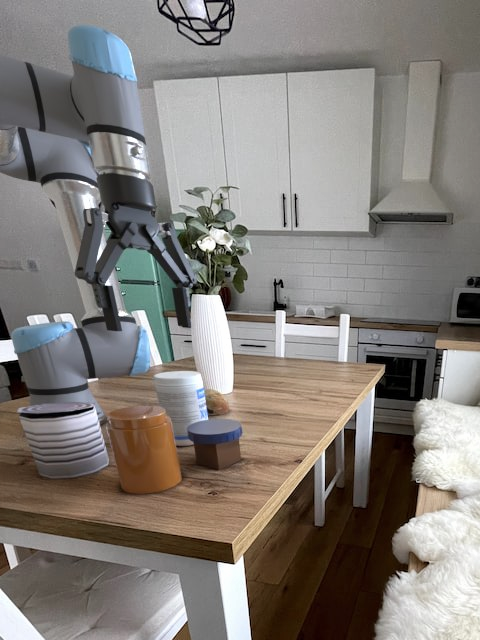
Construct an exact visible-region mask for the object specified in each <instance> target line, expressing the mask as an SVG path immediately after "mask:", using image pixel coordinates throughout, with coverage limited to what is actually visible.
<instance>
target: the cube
mask: <svg viewBox="0 0 480 640" xmlns="http://www.w3.org/2000/svg"><path fill="white" fill-rule="evenodd" d="M193 443H194V445H193V450H194V456H195V461H196V462H195V463H196V464H197V465H200V466H204V467H207V468H210V469H215V470H217V471H220V470H222V469H224V468H227V467H229V466H231V465H233V464H235V463H237V462H240V461H241V460H242V454H241V444H240V438H238V439H236V440H234V441H230V442H226V443H220V444H199V443H195V442H193Z"/></svg>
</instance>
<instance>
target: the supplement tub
mask: <svg viewBox="0 0 480 640" xmlns="http://www.w3.org/2000/svg"><path fill="white" fill-rule="evenodd" d="M153 380H154V381H153V383H154V389H155V394H156V397H157V398H156V399H157V404H158V407H162V408H164V409H165V410H166V416H169V417H170V418H171V421H172V427H173V432H174V438H175V443H176V447H177V446H179V447H186V446H194V443H193V442H192V441H190V440H189V439H188V433H187V427H188V426H189V425H191V424H193V423H196V422H199V421H203V420H209V416H208V414H207V407H206V400H205V393H204V390H205V388H204V382H203V378H202V375H201V372H199V371H194V370H193V371H192V370H175V371H174V370H173V371H165V372H159V373H156V374H154V375H153Z"/></svg>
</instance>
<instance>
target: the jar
mask: <svg viewBox="0 0 480 640" xmlns="http://www.w3.org/2000/svg"><path fill="white" fill-rule="evenodd" d="M106 420H108V421H107V422H106V424H105V428H106V433H107V436H108V440H109V444H110V447H111V451H112V456H113V459H114V463H115V467H116V472H117V475H118V479H119V483H120V487H121V489H122V490H123V491H124V492H126V493H130V494H136V495H137V494H138V495H145V494H154V493H158V492H163V491H166V490H168V489H171V488H173V487H175V486H176V485H179V483H180V482H181V481H182V479H183V476H182V471H181V465H180V460H179V455H178V449H177V445H176V443H175V438H174V432H173V427H172V421H171V418H170V417H169V416H166V410H165V409H164V408H162V407H159V405H134V406H128V407H122V408H117V409H114V410H112V411H110V412H109V413H108V414H107V417H106Z"/></svg>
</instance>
